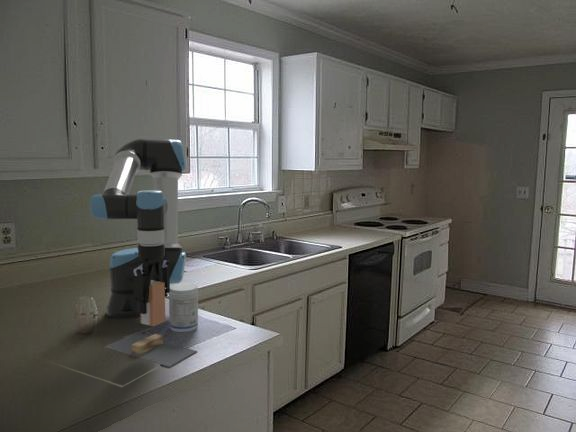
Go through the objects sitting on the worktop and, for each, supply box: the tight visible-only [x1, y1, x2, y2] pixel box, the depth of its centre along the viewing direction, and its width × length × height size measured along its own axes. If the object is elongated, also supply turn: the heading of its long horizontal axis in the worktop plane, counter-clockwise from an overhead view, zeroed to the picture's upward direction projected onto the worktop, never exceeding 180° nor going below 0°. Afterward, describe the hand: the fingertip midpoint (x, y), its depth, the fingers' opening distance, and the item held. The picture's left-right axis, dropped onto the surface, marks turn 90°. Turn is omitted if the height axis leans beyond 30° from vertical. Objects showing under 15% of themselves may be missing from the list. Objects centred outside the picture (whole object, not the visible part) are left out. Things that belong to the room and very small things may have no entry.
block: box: [139, 280, 166, 327], centre depth 142 cm, size 5×5×12 cm
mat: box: [104, 333, 198, 369], centre depth 145 cm, size 12×26×1 cm, turn 62°
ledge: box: [131, 333, 164, 355], centre depth 145 cm, size 10×3×3 cm, turn 152°
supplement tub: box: [168, 282, 199, 333], centre depth 162 cm, size 10×10×15 cm
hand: (153, 320), depth 143 cm, fingers closed on block, 5 cm apart
